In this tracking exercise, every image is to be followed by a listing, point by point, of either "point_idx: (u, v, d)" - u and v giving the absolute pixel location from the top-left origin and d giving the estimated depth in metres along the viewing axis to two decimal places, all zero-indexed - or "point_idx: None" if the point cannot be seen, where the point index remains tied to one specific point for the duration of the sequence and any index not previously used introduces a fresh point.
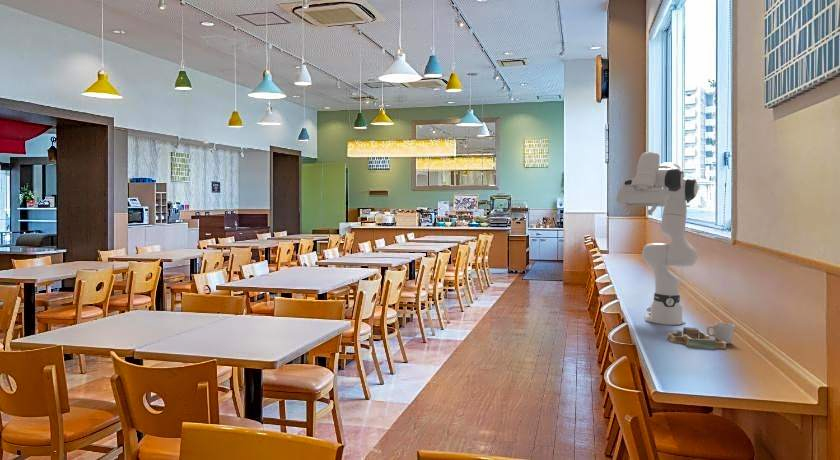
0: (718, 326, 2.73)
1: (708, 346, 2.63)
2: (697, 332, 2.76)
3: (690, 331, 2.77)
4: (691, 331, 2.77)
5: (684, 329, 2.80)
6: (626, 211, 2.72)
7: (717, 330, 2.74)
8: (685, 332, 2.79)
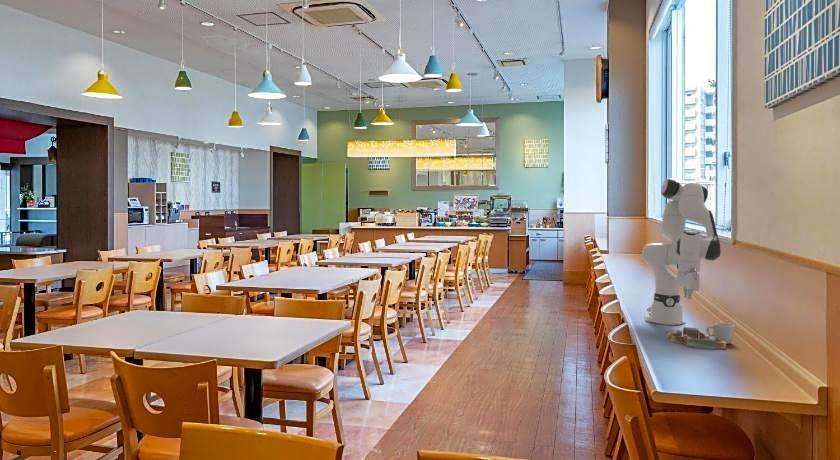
0: (718, 326, 2.73)
1: (708, 346, 2.63)
2: (697, 332, 2.76)
3: (690, 331, 2.77)
4: (691, 331, 2.77)
5: (684, 329, 2.80)
6: (684, 295, 2.88)
7: (717, 330, 2.74)
8: (685, 332, 2.79)
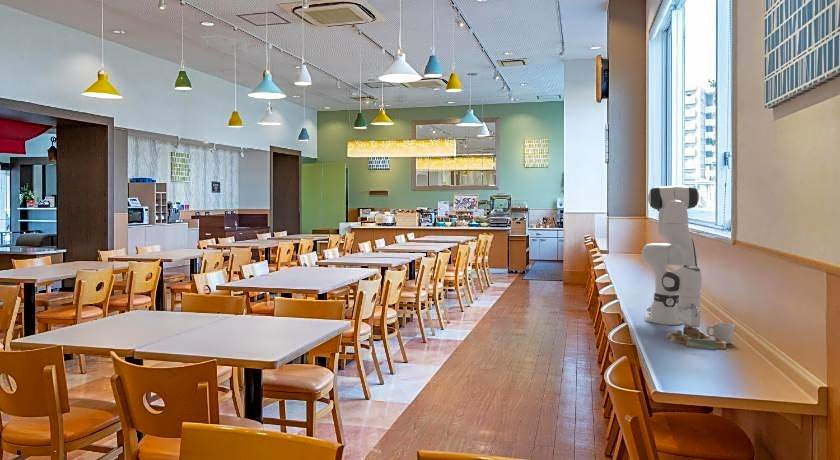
0: (718, 326, 2.73)
1: (708, 346, 2.63)
2: (697, 332, 2.76)
3: (690, 331, 2.77)
4: (691, 331, 2.77)
5: (684, 329, 2.80)
6: None
7: (717, 330, 2.74)
8: (685, 332, 2.79)
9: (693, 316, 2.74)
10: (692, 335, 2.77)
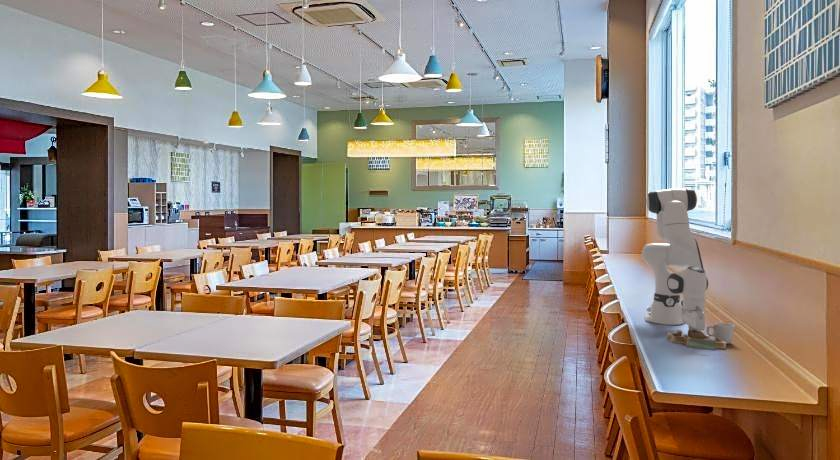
0: (718, 326, 2.73)
1: (708, 346, 2.63)
2: (702, 335, 2.70)
3: (695, 334, 2.70)
4: (696, 334, 2.70)
5: (688, 332, 2.74)
6: None
7: (717, 330, 2.74)
8: (690, 335, 2.72)
9: (698, 319, 2.67)
10: (697, 338, 2.70)
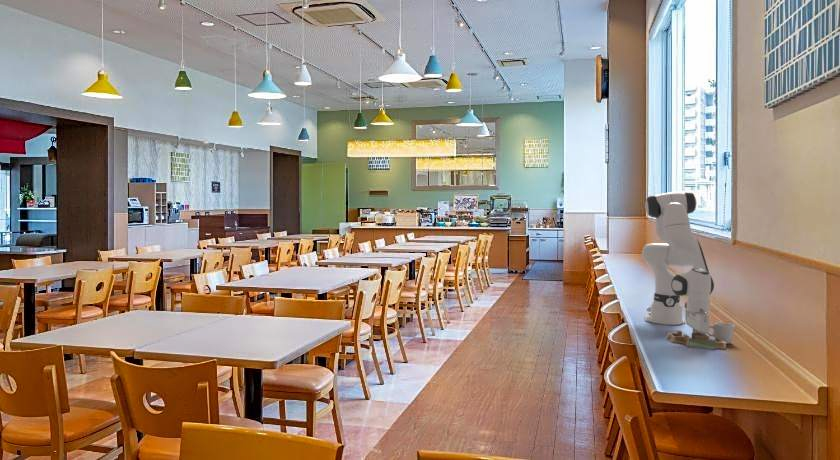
0: (718, 326, 2.73)
1: (708, 346, 2.63)
2: (706, 338, 2.64)
3: (699, 337, 2.65)
4: (700, 337, 2.65)
5: (692, 335, 2.68)
6: None
7: (717, 330, 2.74)
8: (693, 338, 2.67)
9: (702, 322, 2.62)
10: None
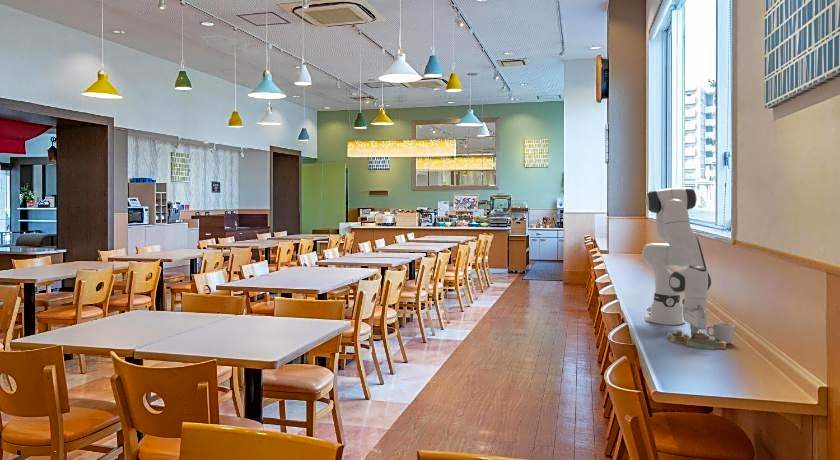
0: (718, 326, 2.73)
1: (708, 346, 2.63)
2: (706, 338, 2.65)
3: (699, 337, 2.65)
4: (700, 337, 2.65)
5: (692, 335, 2.68)
6: None
7: (717, 330, 2.74)
8: (693, 338, 2.67)
9: (700, 318, 2.67)
10: None
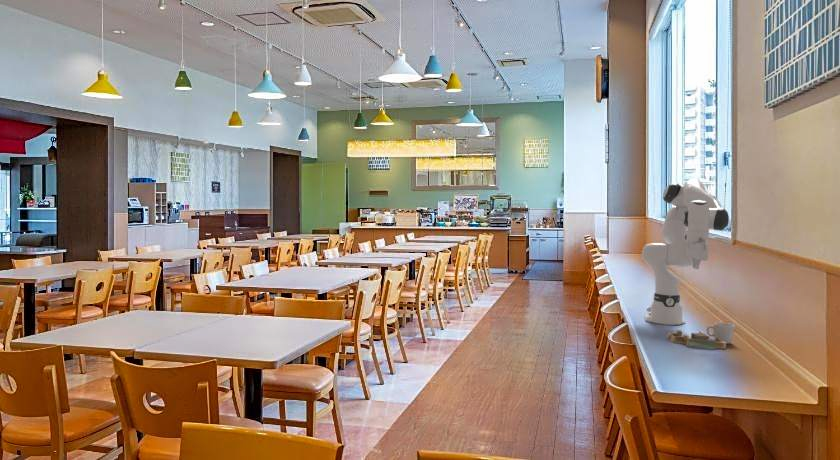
0: (718, 326, 2.73)
1: (708, 346, 2.63)
2: (706, 338, 2.65)
3: (699, 337, 2.65)
4: (700, 337, 2.65)
5: (692, 335, 2.68)
6: (693, 266, 2.84)
7: (717, 330, 2.74)
8: (693, 338, 2.67)
9: (701, 249, 2.73)
10: None
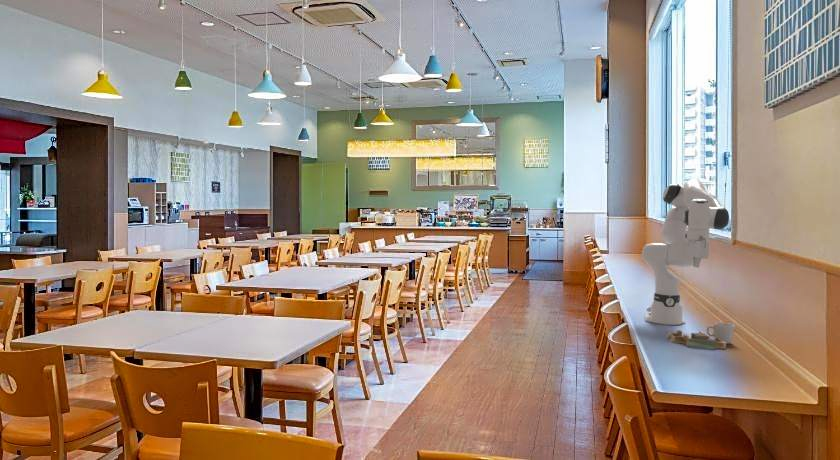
0: (718, 326, 2.73)
1: (708, 346, 2.63)
2: (706, 338, 2.65)
3: (699, 337, 2.65)
4: (700, 337, 2.65)
5: (692, 335, 2.68)
6: (693, 265, 2.84)
7: (717, 330, 2.74)
8: (693, 338, 2.67)
9: (702, 247, 2.73)
10: None
